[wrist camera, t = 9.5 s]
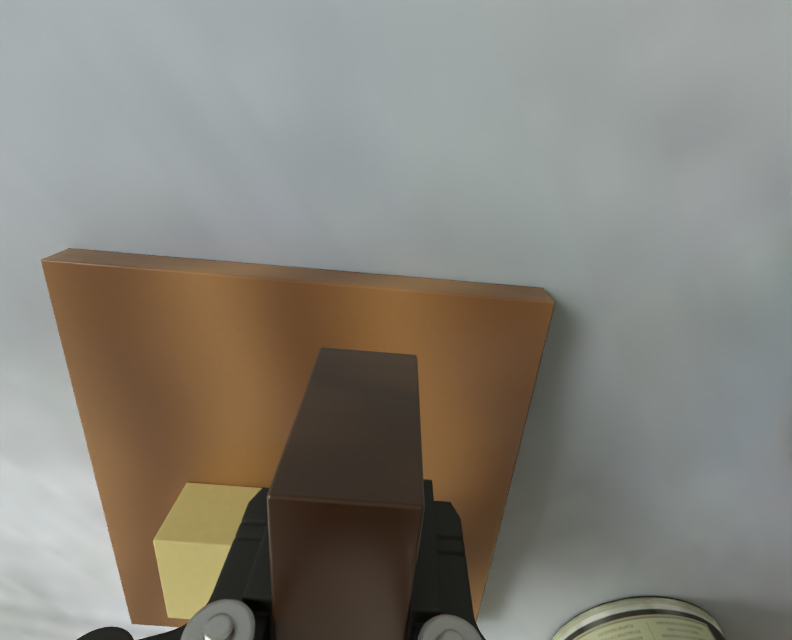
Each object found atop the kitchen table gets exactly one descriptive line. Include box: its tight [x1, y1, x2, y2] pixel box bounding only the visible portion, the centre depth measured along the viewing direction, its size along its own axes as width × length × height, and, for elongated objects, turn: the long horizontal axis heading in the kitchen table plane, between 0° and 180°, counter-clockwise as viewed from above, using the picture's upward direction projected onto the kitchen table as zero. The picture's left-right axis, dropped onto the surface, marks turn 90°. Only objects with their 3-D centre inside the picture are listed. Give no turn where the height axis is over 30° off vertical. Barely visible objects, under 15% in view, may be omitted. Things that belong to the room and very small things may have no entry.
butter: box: [153, 483, 262, 619], centre depth 19 cm, size 7×5×3 cm, turn 85°
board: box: [41, 248, 555, 627], centre depth 21 cm, size 18×20×2 cm
